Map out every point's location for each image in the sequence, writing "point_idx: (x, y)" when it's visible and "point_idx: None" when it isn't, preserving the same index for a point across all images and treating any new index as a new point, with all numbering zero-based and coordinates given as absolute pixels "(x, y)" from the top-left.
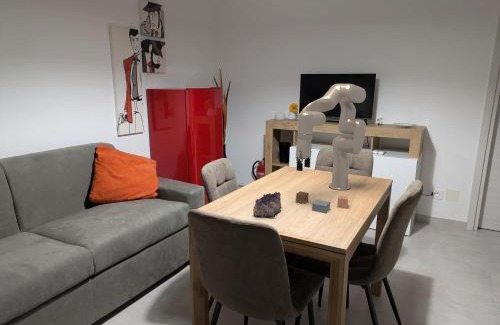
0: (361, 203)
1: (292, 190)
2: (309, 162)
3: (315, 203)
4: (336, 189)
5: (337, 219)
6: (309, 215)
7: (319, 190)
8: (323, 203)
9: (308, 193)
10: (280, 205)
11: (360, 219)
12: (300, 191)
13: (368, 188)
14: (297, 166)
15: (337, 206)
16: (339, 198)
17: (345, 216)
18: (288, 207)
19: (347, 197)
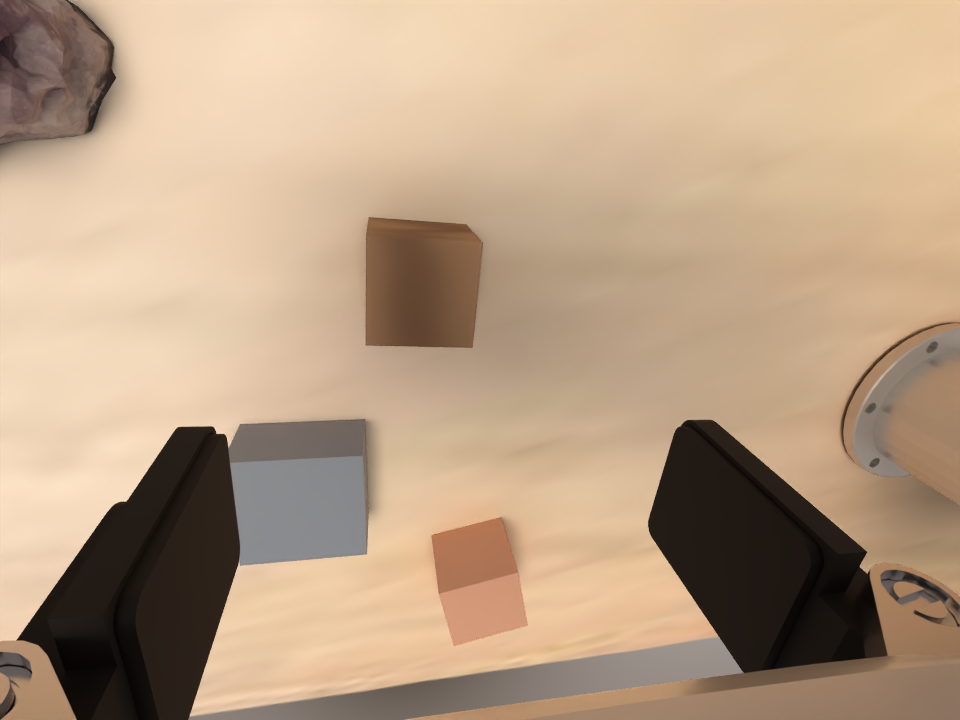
0: (587, 609)
1: (757, 19)
2: (717, 633)
3: (244, 483)
4: (849, 405)
5: None
6: (111, 449)
7: (811, 290)
8: (292, 530)
9: (468, 344)
10: (32, 137)
11: (290, 688)
12: (477, 250)
13: (908, 549)
14: (77, 557)
15: (432, 542)
16: (444, 602)
17: (283, 624)
18: (165, 207)
19: (500, 629)
